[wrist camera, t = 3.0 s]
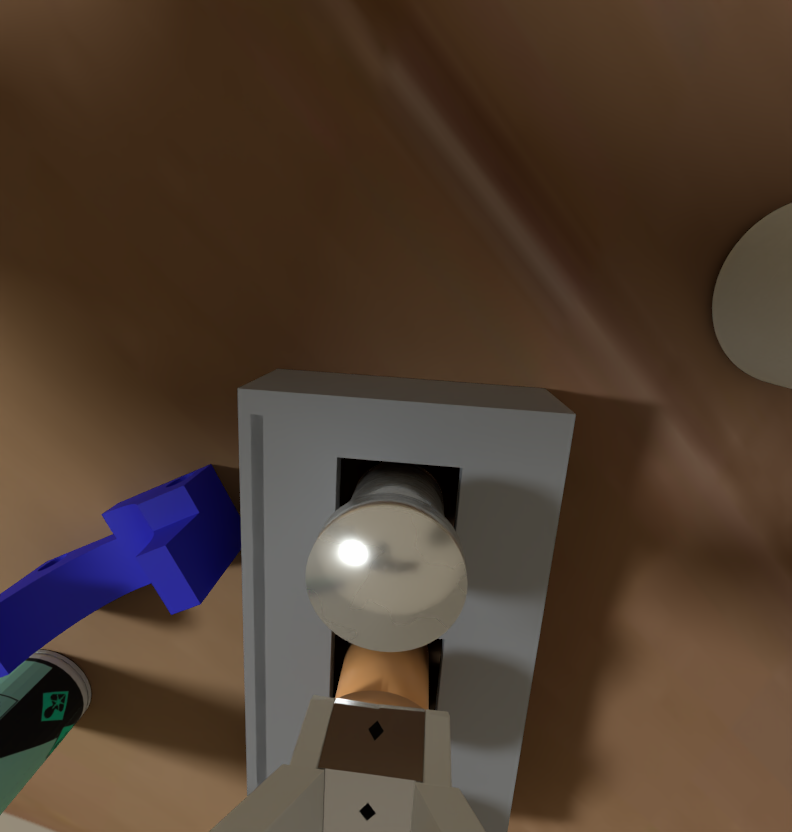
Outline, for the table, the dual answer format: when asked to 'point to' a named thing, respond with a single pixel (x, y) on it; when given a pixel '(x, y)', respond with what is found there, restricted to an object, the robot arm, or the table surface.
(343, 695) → the orange knob
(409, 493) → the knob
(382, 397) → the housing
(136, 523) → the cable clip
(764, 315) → the travel mug
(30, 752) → the spray can
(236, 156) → the table surface
